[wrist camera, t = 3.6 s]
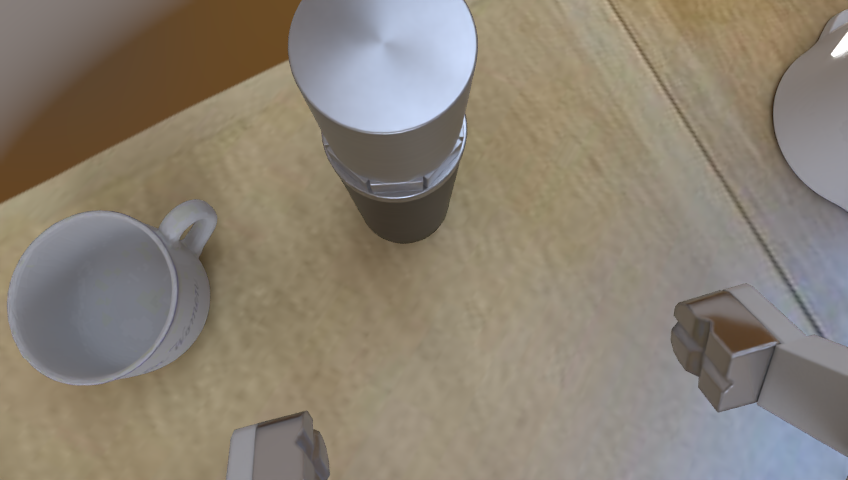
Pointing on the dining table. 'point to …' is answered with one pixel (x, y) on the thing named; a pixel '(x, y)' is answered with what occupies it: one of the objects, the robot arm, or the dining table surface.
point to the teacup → (111, 294)
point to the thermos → (404, 203)
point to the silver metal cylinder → (386, 84)
